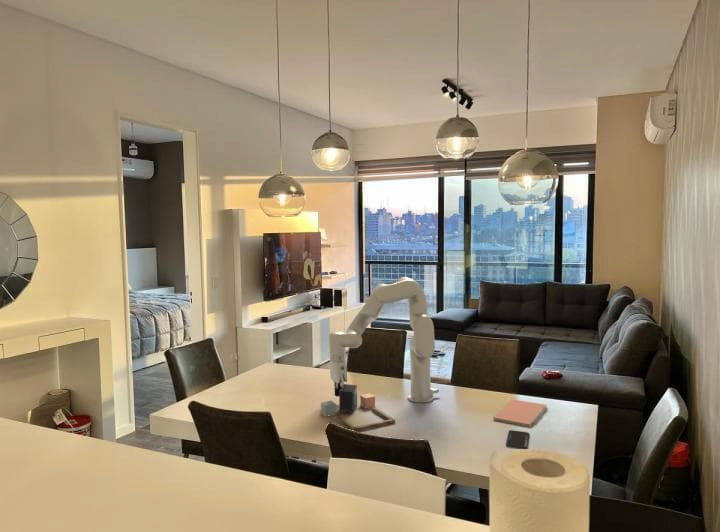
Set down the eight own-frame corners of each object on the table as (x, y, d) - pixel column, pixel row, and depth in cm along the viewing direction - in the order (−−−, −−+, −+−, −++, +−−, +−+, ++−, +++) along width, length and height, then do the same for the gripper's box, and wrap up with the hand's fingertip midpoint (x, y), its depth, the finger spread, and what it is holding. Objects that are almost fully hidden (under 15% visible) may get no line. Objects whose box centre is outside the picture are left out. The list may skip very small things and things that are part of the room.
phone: (529, 432, 207) (527, 447, 193) (529, 435, 207) (527, 450, 193) (508, 429, 210) (505, 444, 196) (508, 432, 210) (505, 447, 196)
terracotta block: (369, 403, 246) (369, 393, 245) (375, 407, 241) (374, 396, 241) (360, 405, 243) (360, 395, 243) (365, 408, 239) (365, 398, 239)
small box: (353, 414, 232) (352, 391, 231) (338, 413, 233) (338, 390, 232) (357, 406, 242) (357, 384, 241) (344, 405, 243) (343, 383, 243)
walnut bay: (375, 410, 236) (375, 407, 236) (395, 423, 221) (395, 419, 220) (335, 418, 227) (335, 415, 227) (353, 432, 211) (353, 428, 211)
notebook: (532, 429, 213) (532, 424, 213) (492, 421, 222) (492, 416, 222) (548, 409, 236) (548, 404, 236) (512, 402, 245) (512, 398, 245)
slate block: (331, 411, 236) (331, 400, 236) (336, 414, 232) (335, 403, 232) (321, 413, 234) (321, 402, 234) (325, 416, 230) (325, 405, 229)
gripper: (351, 360, 241) (352, 398, 242) (338, 353, 254) (338, 390, 255) (337, 362, 237) (338, 401, 238) (324, 355, 250) (324, 392, 252)
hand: (338, 395), depth 247 cm, fingers closed
